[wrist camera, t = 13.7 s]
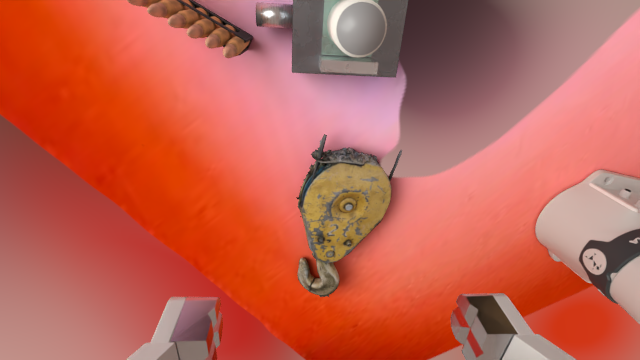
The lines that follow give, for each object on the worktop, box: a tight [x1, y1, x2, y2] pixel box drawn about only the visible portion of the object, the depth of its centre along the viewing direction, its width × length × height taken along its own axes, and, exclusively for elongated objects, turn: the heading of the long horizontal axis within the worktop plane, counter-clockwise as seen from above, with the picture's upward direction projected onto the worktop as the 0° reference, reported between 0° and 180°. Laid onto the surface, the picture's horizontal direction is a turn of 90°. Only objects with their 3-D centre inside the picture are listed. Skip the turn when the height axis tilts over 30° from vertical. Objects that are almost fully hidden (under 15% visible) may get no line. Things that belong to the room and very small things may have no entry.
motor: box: [256, 0, 408, 77], centre depth 37 cm, size 16×11×9 cm
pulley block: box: [296, 134, 402, 297], centre depth 53 cm, size 14×6×30 cm
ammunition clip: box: [127, 0, 253, 58], centre depth 35 cm, size 11×2×12 cm, turn 59°
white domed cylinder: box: [327, 0, 387, 58], centre depth 33 cm, size 5×5×6 cm
